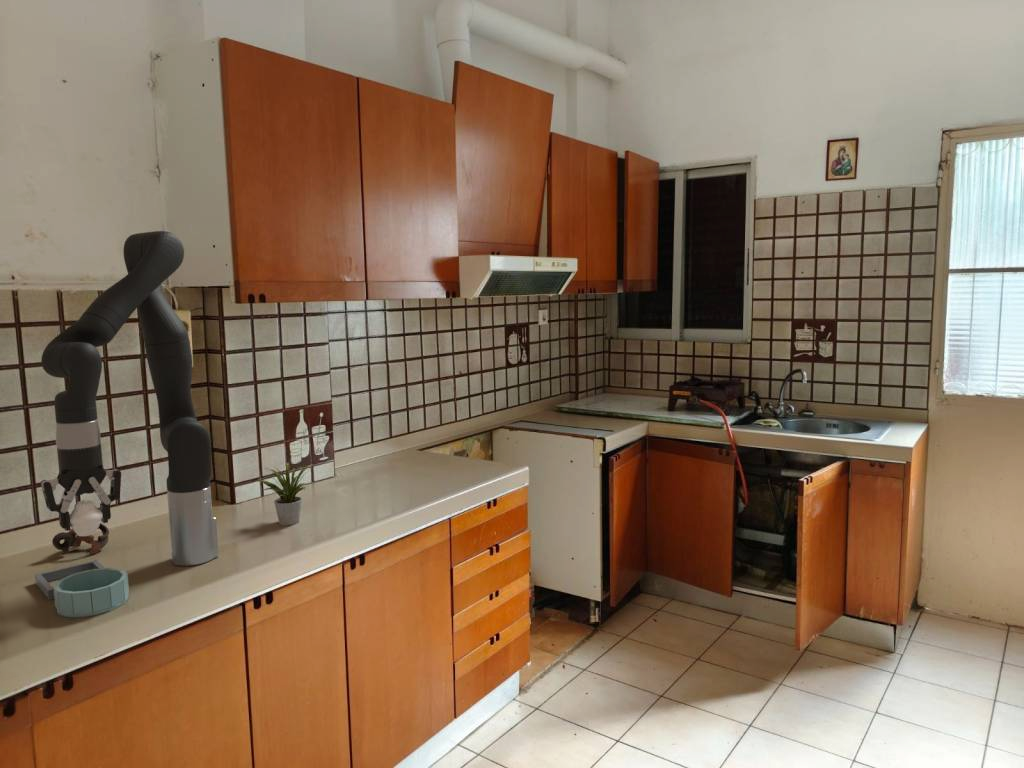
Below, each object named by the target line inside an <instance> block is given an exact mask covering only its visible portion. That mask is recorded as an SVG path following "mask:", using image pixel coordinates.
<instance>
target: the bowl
mask: <svg viewBox="0 0 1024 768" xmlns="http://www.w3.org/2000/svg"><path fill="white" fill-rule="evenodd" d="M52 588H54V598H55V599H54V605H55V608H56V613H57V614H58V615H59V616H60V617H63V618H64V617H66V618H73V619H74V618H77V619H78V618H87V617H94V616H98V615H102V614H105V613H108V611H109V612H111V611H114V610H116V609H117V608H120V607H122V606H123V605H124V604H126V602H127V601H128V600H129V594H130V589H129V588H130V587H129V576H128V573H127V571H125V570H124V569H123V568H116V567H104V568H101V569H92V570H87V571H83V572H79V573H74V574H72V575H70V576H67V577H65V578H62V579H58V581H56V583H55V584H54V585H53V587H52ZM121 605H122V606H121ZM115 608H116V609H115ZM113 609H114V610H113Z"/></svg>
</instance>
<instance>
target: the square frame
mask: <svg viewBox="0 0 1024 768" xmlns="http://www.w3.org/2000/svg"><path fill="white" fill-rule="evenodd" d="M101 568H105V566H104V565H102V564H101V563H100V562H99V561H98V560H97V559H95V560H89V561H85V562H82V563H78V564H73V565H69V566H68V565H67V566H64V567H60V568H57V569H56V568H55V569H53V570H52V569H51V570H48V571H43V572H38V573H35V574H34V580H35V581H34V582H35V584H36V586H37V587H38V588H39V589H40V590H41V592H42V593H43V594H44V596H45V597H46V598H47V600H48V601H50V600H53V599H54V600H55V598H54V588H53V587H52V585H51V584H50V583H49V582H52V581H57V580H61V579H63V578H65V577H67V576H70V575H72V574H74V573H79V572H83V571H87V570H92V569H101Z"/></svg>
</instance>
